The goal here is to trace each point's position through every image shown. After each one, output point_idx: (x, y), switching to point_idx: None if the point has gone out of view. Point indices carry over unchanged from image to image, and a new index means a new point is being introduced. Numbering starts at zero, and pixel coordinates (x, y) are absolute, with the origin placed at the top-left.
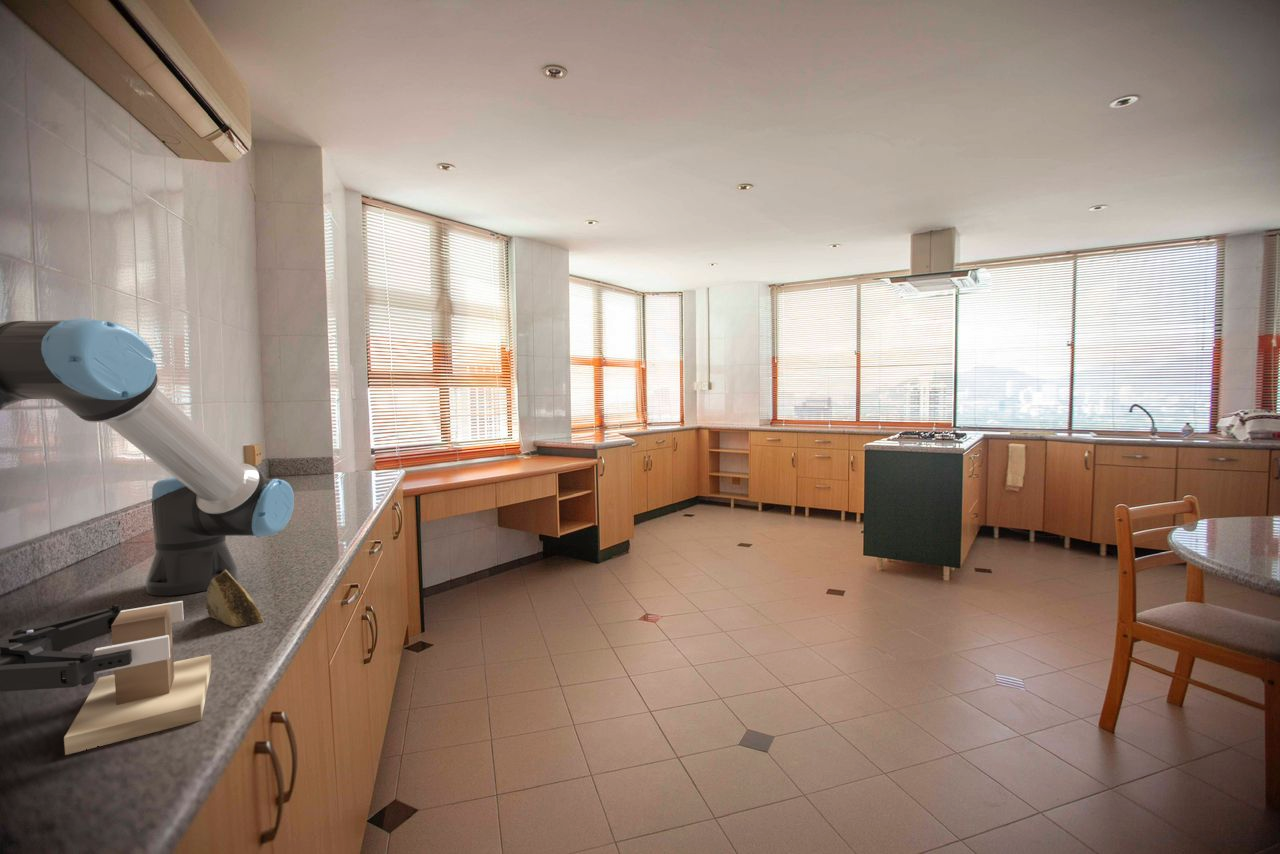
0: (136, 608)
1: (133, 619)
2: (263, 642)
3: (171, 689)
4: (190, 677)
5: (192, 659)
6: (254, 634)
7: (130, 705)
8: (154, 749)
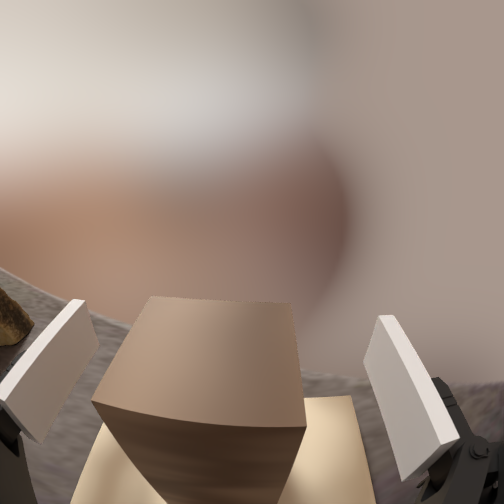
0: (16, 367)
1: (263, 366)
2: (99, 339)
3: None
4: None
5: None
6: None
7: (289, 494)
8: None
